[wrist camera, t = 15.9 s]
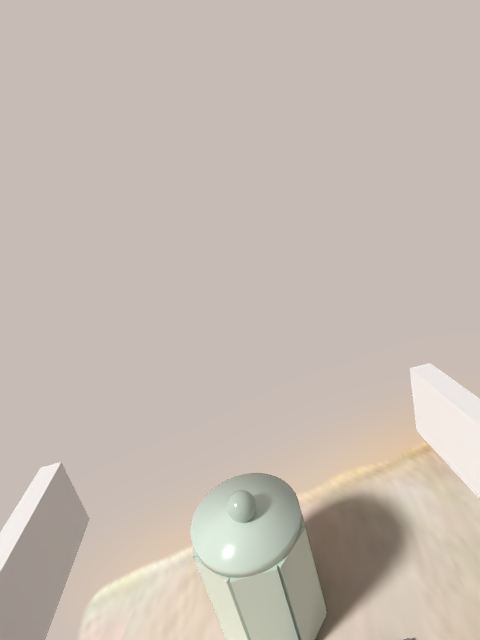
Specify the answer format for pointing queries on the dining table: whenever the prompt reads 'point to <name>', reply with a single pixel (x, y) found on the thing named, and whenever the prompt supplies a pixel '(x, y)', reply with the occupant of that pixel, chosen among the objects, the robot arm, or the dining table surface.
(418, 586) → the dining table surface
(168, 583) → the dining table surface
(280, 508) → the lidded canister jar
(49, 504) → the robot arm
